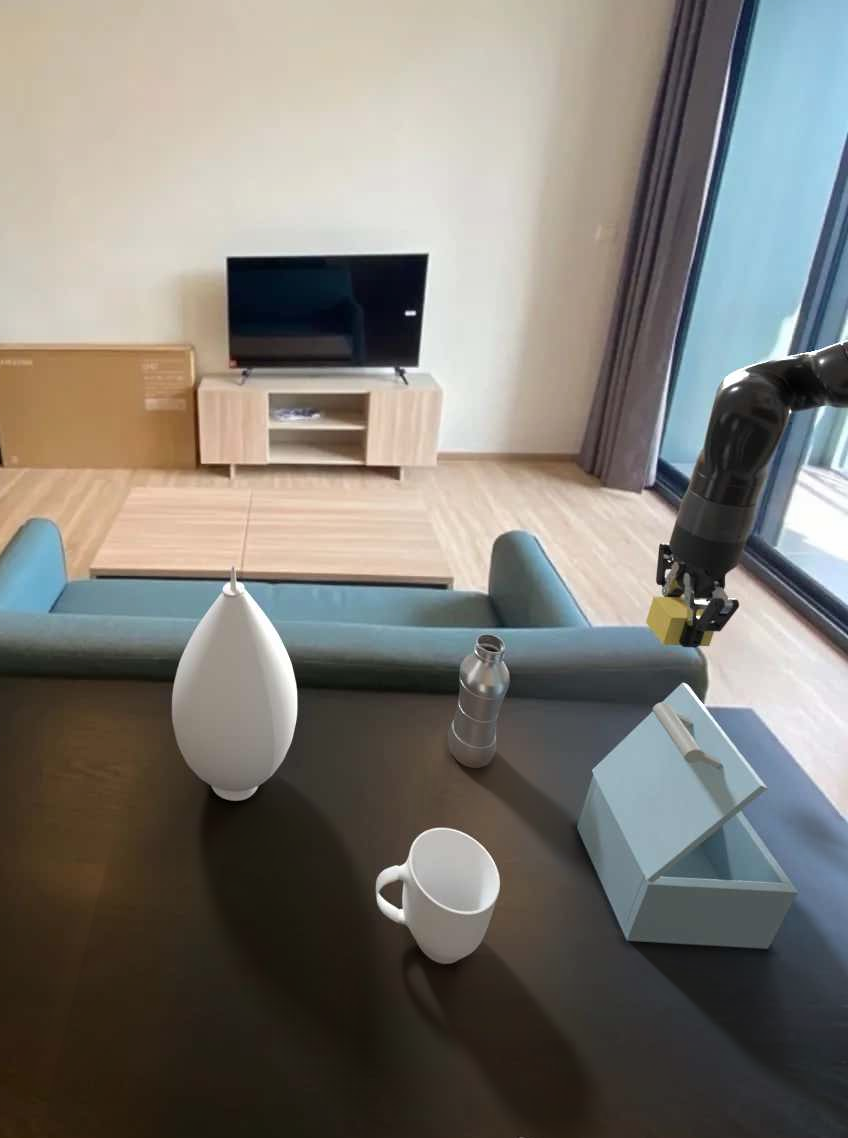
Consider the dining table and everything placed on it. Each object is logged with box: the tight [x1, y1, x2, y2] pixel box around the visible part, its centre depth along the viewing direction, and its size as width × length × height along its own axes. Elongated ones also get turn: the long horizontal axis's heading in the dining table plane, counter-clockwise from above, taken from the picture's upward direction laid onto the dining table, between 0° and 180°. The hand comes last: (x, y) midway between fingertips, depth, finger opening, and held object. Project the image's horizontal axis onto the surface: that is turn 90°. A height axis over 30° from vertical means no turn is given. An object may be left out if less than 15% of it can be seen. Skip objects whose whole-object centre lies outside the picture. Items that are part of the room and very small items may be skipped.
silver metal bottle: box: [447, 633, 511, 769], centre depth 88 cm, size 6×7×20 cm
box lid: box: [591, 682, 768, 882], centre depth 68 cm, size 16×13×5 cm
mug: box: [375, 827, 501, 965], centre depth 68 cm, size 12×9×12 cm
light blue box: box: [577, 774, 799, 950], centre depth 73 cm, size 15×13×10 cm
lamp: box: [171, 564, 298, 802], centre depth 81 cm, size 16×16×35 cm
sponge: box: [645, 596, 715, 647], centre depth 87 cm, size 6×4×4 cm
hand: (677, 632), depth 88 cm, fingers closed on sponge, 4 cm apart
